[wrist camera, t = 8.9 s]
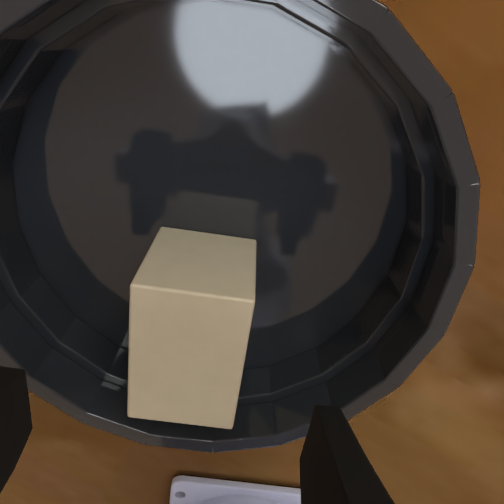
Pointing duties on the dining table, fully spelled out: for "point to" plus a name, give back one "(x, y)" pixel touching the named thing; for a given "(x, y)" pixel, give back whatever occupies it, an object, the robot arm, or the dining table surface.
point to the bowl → (229, 197)
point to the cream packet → (190, 327)
